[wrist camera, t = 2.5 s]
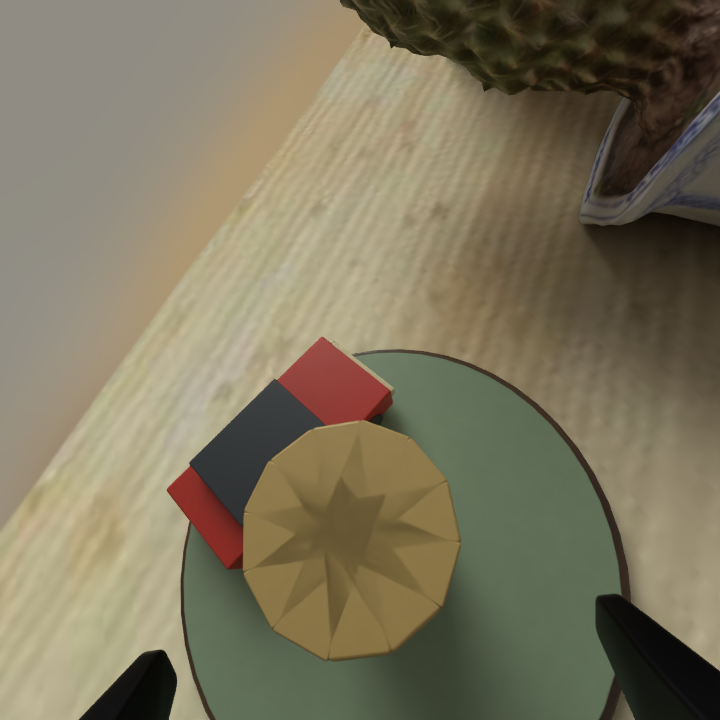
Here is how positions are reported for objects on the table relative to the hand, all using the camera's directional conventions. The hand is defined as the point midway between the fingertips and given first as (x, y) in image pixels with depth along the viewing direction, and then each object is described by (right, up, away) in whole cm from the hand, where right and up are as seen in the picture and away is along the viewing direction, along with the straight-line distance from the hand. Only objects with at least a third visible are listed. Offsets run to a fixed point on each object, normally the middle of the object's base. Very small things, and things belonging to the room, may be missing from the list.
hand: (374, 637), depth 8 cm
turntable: (+1, -2, +8) cm, 8 cm away
